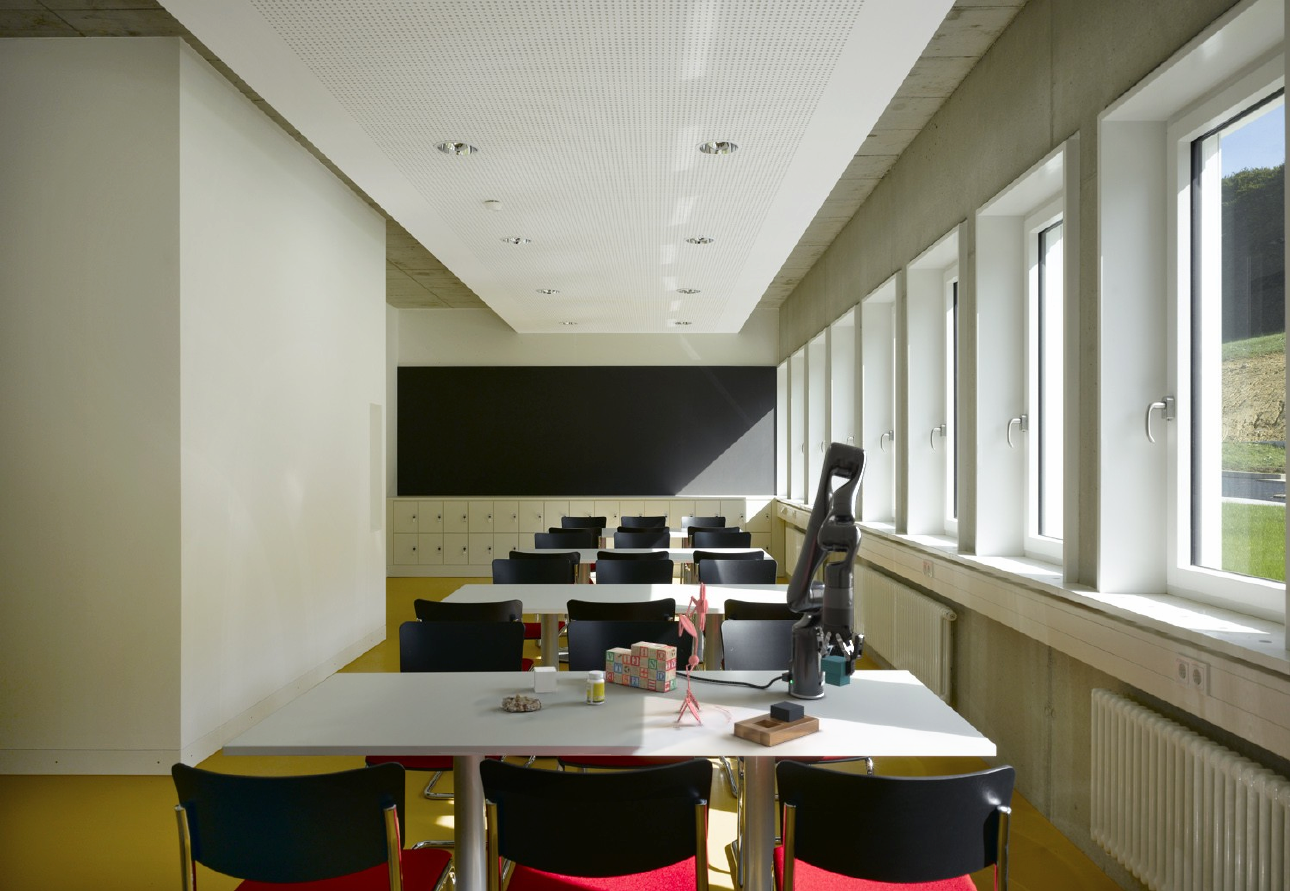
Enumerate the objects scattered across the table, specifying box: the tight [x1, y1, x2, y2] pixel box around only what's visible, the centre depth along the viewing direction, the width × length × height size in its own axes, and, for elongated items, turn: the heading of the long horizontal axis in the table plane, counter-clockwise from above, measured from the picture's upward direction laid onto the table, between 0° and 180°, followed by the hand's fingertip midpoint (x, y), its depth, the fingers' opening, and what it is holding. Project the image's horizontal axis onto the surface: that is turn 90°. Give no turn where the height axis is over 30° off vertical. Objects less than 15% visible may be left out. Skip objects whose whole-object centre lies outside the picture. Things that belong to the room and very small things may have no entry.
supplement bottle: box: [586, 670, 605, 706], centre depth 238 cm, size 5×5×8 cm
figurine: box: [674, 582, 732, 729], centre depth 226 cm, size 15×26×35 cm, turn 175°
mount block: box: [733, 712, 820, 747], centre depth 214 cm, size 11×19×3 cm, turn 133°
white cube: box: [533, 666, 558, 694], centre depth 251 cm, size 6×6×6 cm
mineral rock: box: [501, 693, 542, 713], centre depth 231 cm, size 11×4×8 cm
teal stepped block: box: [820, 655, 856, 688], centre depth 213 cm, size 6×6×6 cm
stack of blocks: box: [605, 641, 677, 693], centre depth 259 cm, size 21×6×12 cm, turn 58°
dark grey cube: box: [769, 700, 805, 723], centre depth 217 cm, size 6×6×6 cm
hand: (837, 672), depth 213 cm, fingers closed on teal stepped block, 6 cm apart
